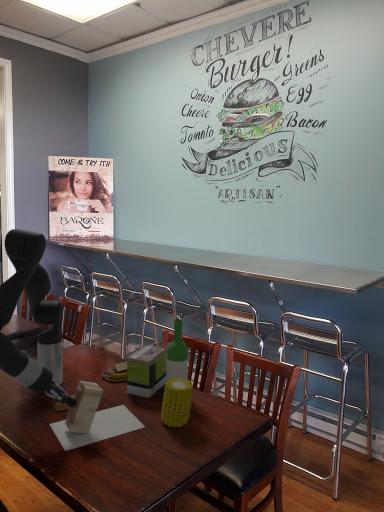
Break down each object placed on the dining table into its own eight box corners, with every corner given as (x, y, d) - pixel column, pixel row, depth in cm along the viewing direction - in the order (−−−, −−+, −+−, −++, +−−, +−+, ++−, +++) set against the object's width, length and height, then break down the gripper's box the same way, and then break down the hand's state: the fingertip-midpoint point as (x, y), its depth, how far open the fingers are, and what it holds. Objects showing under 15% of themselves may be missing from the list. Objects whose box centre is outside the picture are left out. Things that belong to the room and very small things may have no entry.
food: (166, 417, 151) (193, 424, 148) (152, 426, 140) (181, 434, 137) (172, 373, 152) (200, 379, 149) (160, 378, 141) (189, 385, 138)
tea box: (145, 378, 178) (145, 344, 176) (167, 383, 174) (168, 348, 172) (126, 393, 164) (126, 356, 162) (149, 399, 161) (150, 361, 158)
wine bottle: (172, 403, 157) (174, 324, 153) (162, 395, 164) (163, 318, 160) (190, 399, 162) (193, 321, 157) (179, 390, 168) (182, 315, 164)
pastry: (59, 415, 147) (59, 405, 147) (50, 408, 152) (50, 397, 152) (84, 407, 154) (84, 396, 153) (75, 400, 159) (75, 390, 158)
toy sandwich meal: (101, 371, 184) (101, 360, 184) (133, 369, 187) (133, 358, 187) (102, 384, 172) (102, 372, 171) (136, 381, 175) (136, 370, 175)
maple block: (63, 423, 137) (78, 380, 138) (82, 424, 141) (96, 383, 142) (69, 432, 132) (85, 387, 133) (88, 433, 136) (103, 390, 137)
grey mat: (49, 425, 140) (49, 424, 140) (123, 406, 155) (123, 404, 155) (65, 452, 126) (65, 450, 126) (145, 428, 141) (145, 426, 141)
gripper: (47, 372, 122) (89, 403, 131) (35, 356, 133) (75, 385, 142) (28, 394, 120) (72, 424, 129) (18, 376, 131) (59, 405, 139)
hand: (73, 404), depth 135 cm, fingers closed
